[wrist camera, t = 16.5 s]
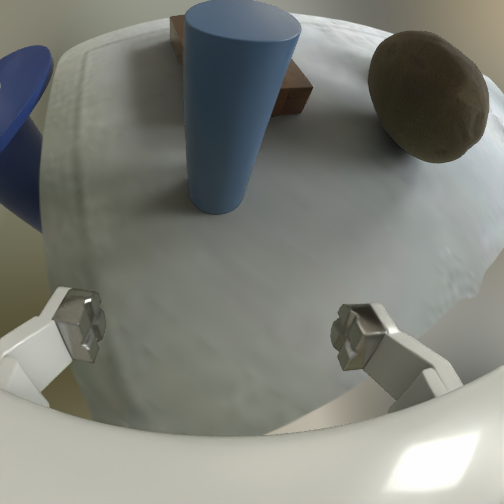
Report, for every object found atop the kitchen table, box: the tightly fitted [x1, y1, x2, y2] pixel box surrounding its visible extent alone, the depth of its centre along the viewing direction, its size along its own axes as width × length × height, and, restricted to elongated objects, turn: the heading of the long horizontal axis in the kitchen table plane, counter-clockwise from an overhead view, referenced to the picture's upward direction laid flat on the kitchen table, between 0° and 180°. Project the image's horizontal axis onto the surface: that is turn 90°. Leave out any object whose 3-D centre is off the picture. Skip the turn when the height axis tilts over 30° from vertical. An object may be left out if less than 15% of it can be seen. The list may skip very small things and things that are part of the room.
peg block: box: [170, 15, 313, 117], centre depth 24 cm, size 10×18×4 cm, turn 21°
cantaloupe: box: [368, 31, 489, 163], centre depth 20 cm, size 14×14×15 cm
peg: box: [183, 0, 301, 214], centre depth 14 cm, size 4×4×15 cm
